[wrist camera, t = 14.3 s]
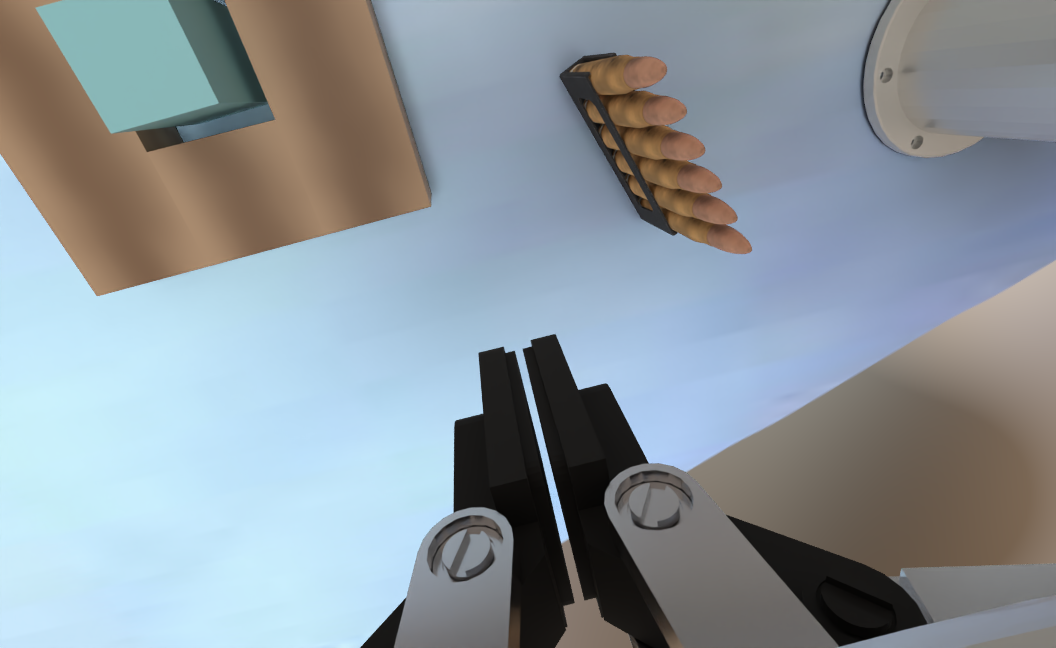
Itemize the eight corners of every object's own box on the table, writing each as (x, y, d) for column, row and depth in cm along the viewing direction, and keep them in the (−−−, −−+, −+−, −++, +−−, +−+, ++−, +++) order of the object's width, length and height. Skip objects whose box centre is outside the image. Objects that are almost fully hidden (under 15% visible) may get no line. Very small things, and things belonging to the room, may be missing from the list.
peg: (234, 10, 25) (155, -25, 18) (275, 101, 27) (219, 103, 20) (149, 33, 25) (35, 7, 18) (196, 124, 27) (111, 133, 20)
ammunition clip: (665, 204, 33) (775, 254, 23) (642, 220, 34) (740, 278, 23) (584, 55, 29) (674, 29, 18) (558, 75, 29) (632, 61, 18)
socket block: (309, -196, 23) (286, -251, 19) (431, 193, 30) (431, 206, 27) (-98, -107, 22) (-205, -148, 18) (138, 272, 29) (97, 296, 26)
